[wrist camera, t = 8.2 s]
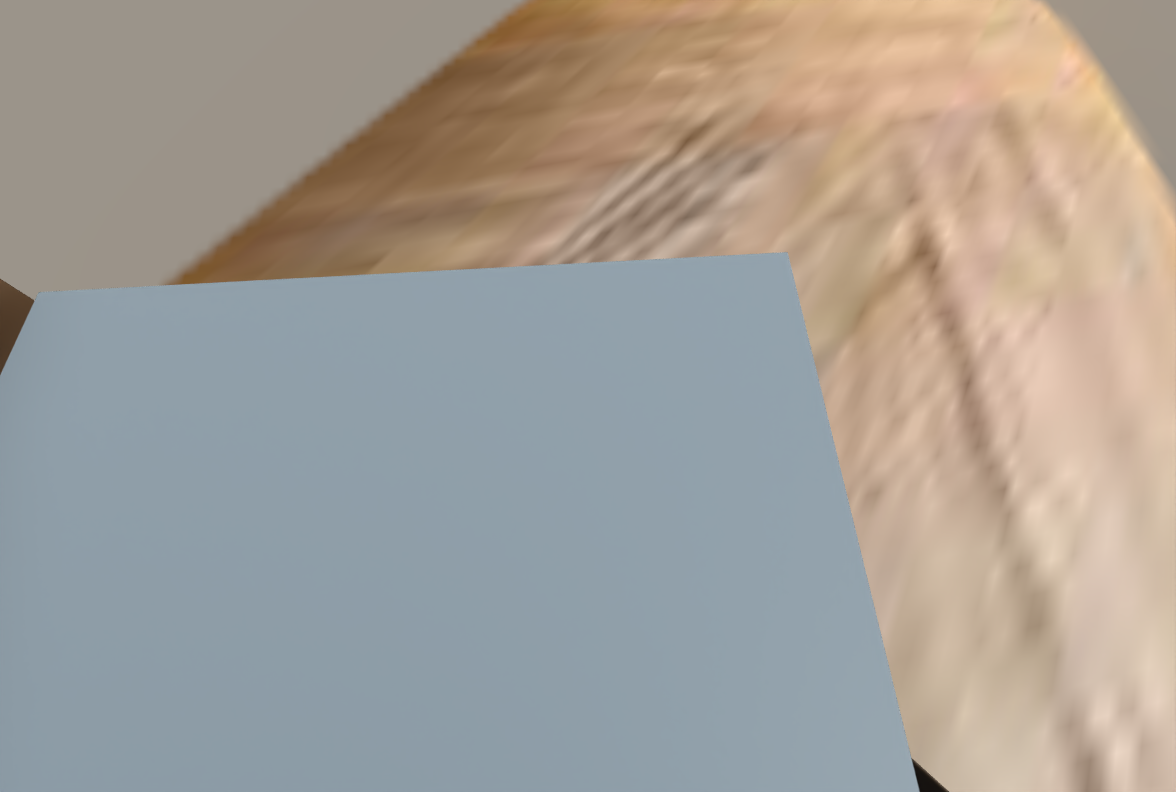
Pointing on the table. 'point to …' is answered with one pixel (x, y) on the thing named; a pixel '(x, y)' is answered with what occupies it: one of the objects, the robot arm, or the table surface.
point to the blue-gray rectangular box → (435, 539)
